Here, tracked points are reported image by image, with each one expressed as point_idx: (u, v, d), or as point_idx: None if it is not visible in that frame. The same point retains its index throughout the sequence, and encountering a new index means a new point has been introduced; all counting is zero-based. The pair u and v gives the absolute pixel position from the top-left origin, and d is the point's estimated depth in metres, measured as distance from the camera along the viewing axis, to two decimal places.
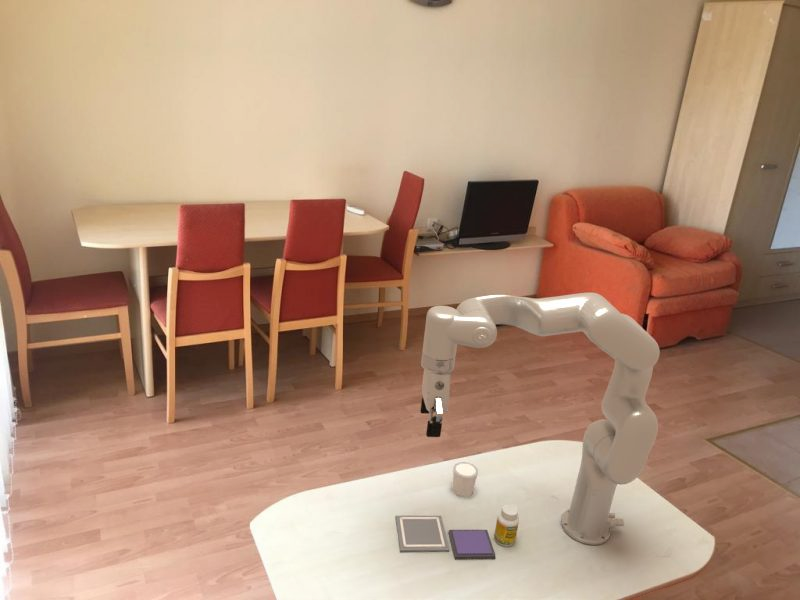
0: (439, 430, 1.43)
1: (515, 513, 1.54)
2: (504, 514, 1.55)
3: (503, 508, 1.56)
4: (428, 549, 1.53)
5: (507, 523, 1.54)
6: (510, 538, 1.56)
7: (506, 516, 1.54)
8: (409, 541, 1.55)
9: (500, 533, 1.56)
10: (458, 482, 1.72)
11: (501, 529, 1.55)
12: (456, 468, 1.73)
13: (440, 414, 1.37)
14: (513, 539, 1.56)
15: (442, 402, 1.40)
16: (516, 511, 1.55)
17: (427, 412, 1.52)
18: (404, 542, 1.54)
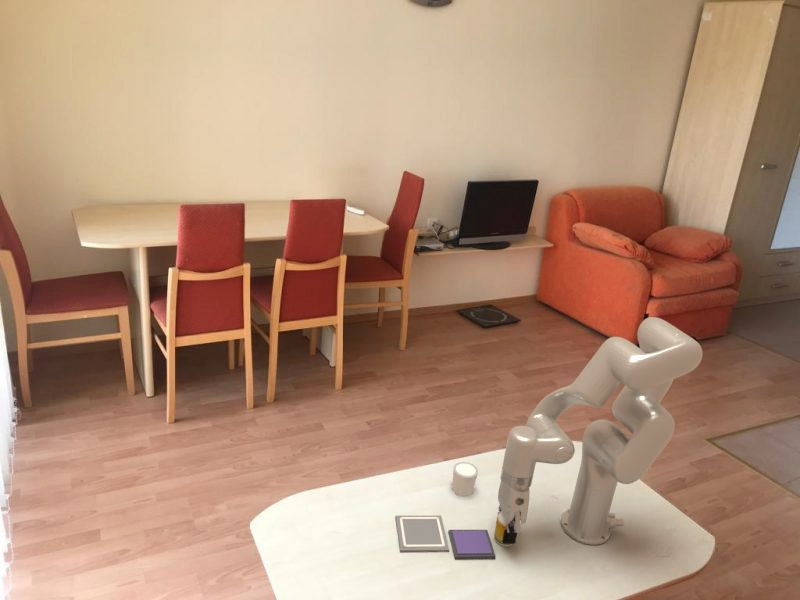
0: (514, 538, 1.55)
1: None
2: None
3: None
4: (428, 549, 1.53)
5: None
6: None
7: None
8: (409, 541, 1.55)
9: (500, 533, 1.56)
10: (458, 482, 1.72)
11: (501, 529, 1.55)
12: (456, 468, 1.73)
13: (518, 531, 1.49)
14: None
15: (521, 516, 1.50)
16: None
17: None
18: (404, 542, 1.54)
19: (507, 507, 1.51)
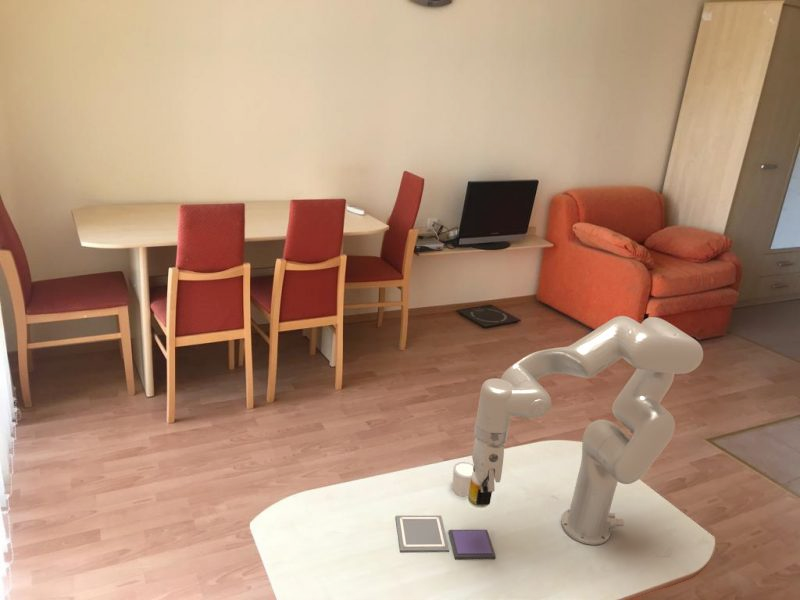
0: (489, 498, 1.47)
1: None
2: None
3: None
4: (428, 549, 1.53)
5: None
6: None
7: None
8: (409, 541, 1.55)
9: (473, 493, 1.48)
10: (458, 482, 1.72)
11: (475, 489, 1.47)
12: (456, 468, 1.73)
13: (492, 490, 1.41)
14: None
15: (495, 473, 1.42)
16: None
17: None
18: (404, 542, 1.54)
19: (480, 465, 1.43)
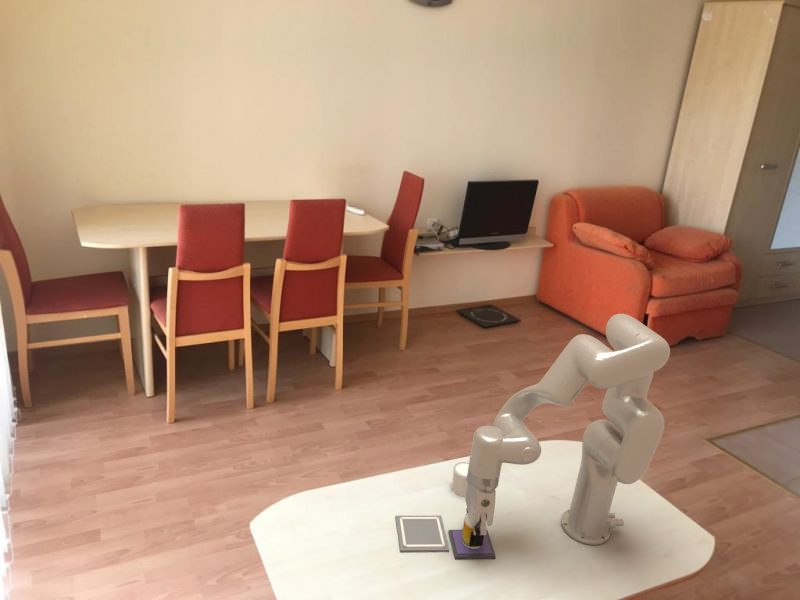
0: (481, 540, 1.51)
1: None
2: None
3: None
4: (428, 549, 1.53)
5: None
6: None
7: None
8: (409, 541, 1.55)
9: (467, 535, 1.53)
10: (458, 482, 1.72)
11: (468, 531, 1.52)
12: (456, 468, 1.73)
13: (484, 534, 1.45)
14: None
15: (487, 518, 1.47)
16: None
17: None
18: (404, 542, 1.54)
19: (473, 509, 1.47)
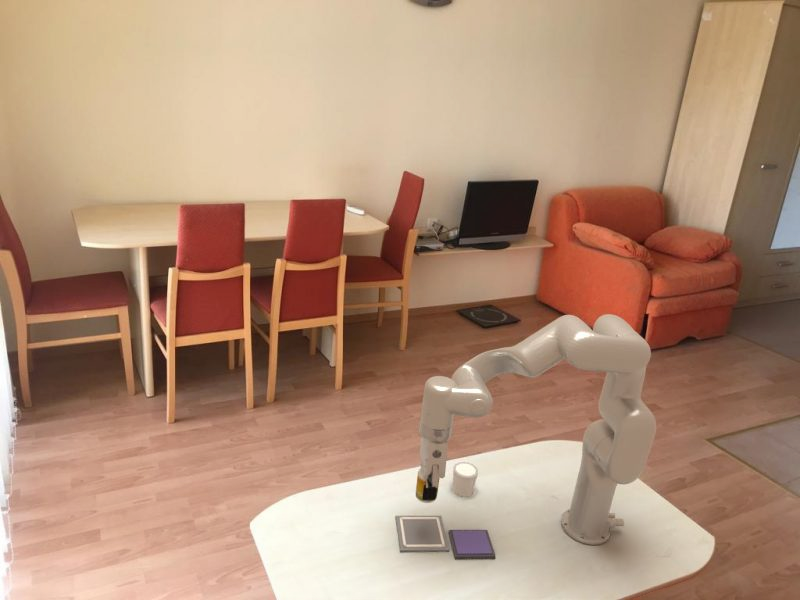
0: (434, 494, 1.50)
1: None
2: None
3: None
4: (428, 549, 1.53)
5: None
6: None
7: None
8: (409, 541, 1.55)
9: (420, 489, 1.51)
10: (458, 482, 1.72)
11: (421, 485, 1.50)
12: (456, 468, 1.73)
13: (435, 485, 1.44)
14: None
15: (439, 469, 1.45)
16: None
17: None
18: (404, 542, 1.54)
19: (425, 460, 1.45)
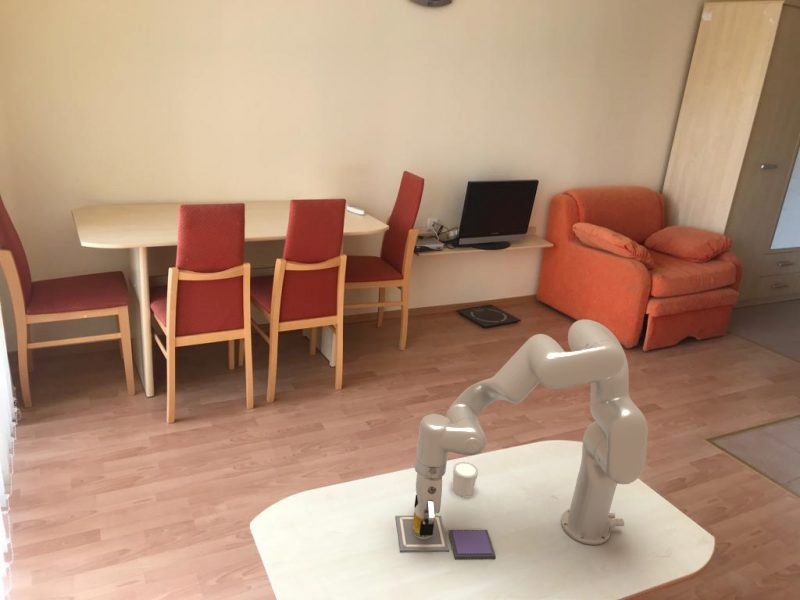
0: (431, 529, 1.52)
1: None
2: None
3: None
4: (428, 549, 1.53)
5: None
6: None
7: None
8: (409, 541, 1.55)
9: (416, 525, 1.55)
10: (458, 482, 1.72)
11: (417, 522, 1.54)
12: (456, 468, 1.73)
13: (432, 518, 1.46)
14: None
15: (434, 505, 1.49)
16: None
17: None
18: (404, 542, 1.54)
19: (420, 496, 1.49)
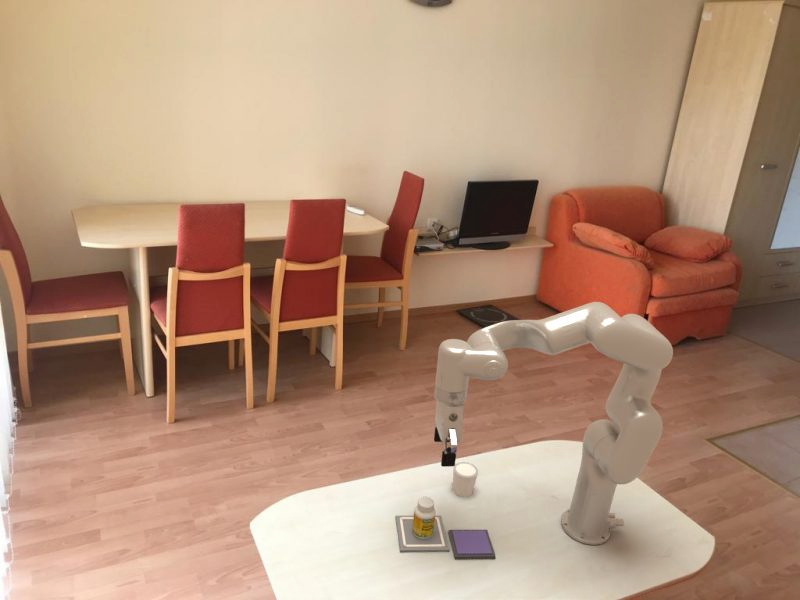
0: (453, 460, 1.47)
1: (431, 505, 1.53)
2: (419, 506, 1.53)
3: (419, 500, 1.54)
4: (428, 549, 1.53)
5: (422, 516, 1.53)
6: (426, 530, 1.55)
7: (421, 509, 1.53)
8: (409, 541, 1.55)
9: (416, 526, 1.55)
10: (458, 482, 1.72)
11: (417, 522, 1.54)
12: (456, 468, 1.73)
13: (455, 445, 1.41)
14: (429, 531, 1.55)
15: (456, 433, 1.44)
16: (432, 503, 1.54)
17: (440, 440, 1.56)
18: (404, 542, 1.54)
19: (441, 425, 1.44)
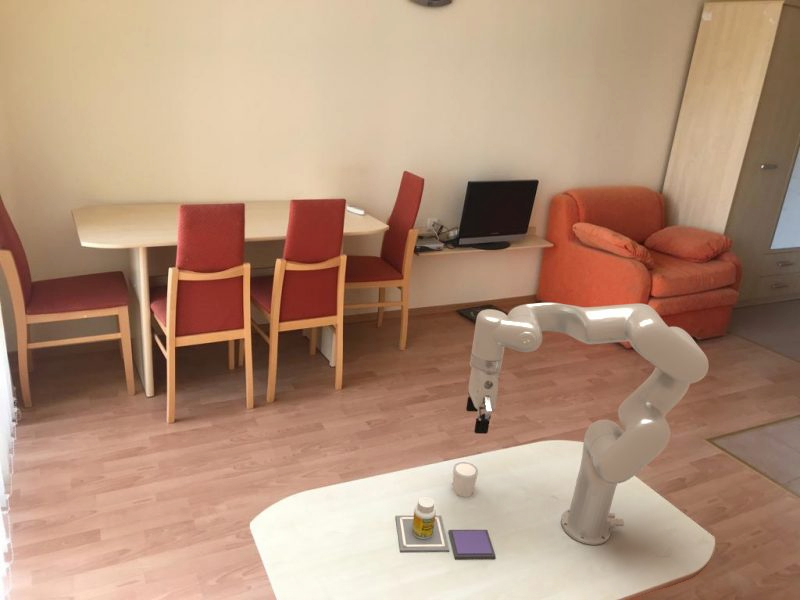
0: (487, 427, 1.51)
1: (431, 505, 1.53)
2: (419, 506, 1.53)
3: (419, 500, 1.55)
4: (428, 549, 1.53)
5: (422, 515, 1.53)
6: (426, 530, 1.55)
7: (421, 508, 1.53)
8: (409, 541, 1.55)
9: (416, 525, 1.55)
10: (458, 482, 1.72)
11: (417, 522, 1.54)
12: (456, 468, 1.73)
13: (489, 412, 1.46)
14: (429, 531, 1.55)
15: (490, 400, 1.49)
16: (432, 503, 1.54)
17: (472, 410, 1.60)
18: (404, 542, 1.54)
19: (476, 392, 1.49)
